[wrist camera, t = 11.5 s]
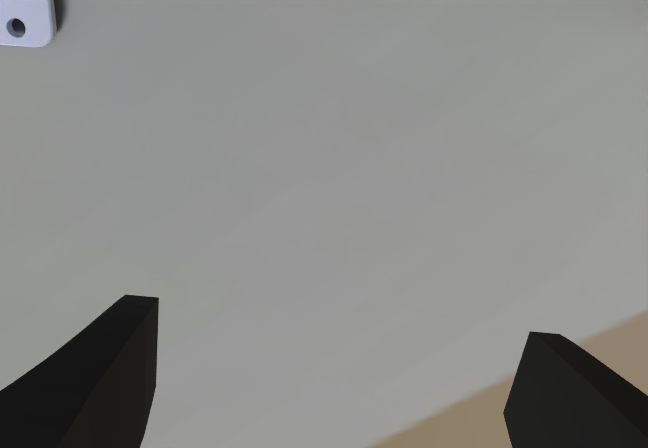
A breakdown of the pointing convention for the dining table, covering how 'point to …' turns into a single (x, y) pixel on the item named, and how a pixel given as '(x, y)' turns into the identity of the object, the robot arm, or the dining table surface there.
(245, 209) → the dining table surface
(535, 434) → the robot arm
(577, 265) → the dining table surface
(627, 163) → the dining table surface
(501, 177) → the dining table surface
